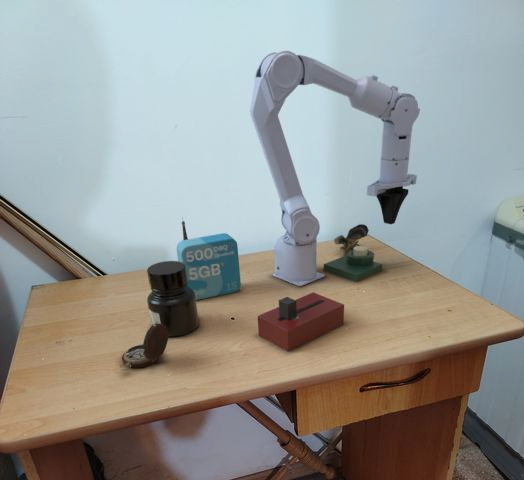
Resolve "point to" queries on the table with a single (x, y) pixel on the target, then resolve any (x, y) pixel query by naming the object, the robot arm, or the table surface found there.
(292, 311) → the slider knob
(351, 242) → the eagle figurine
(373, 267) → the button block
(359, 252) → the button
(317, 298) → the slider base
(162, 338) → the compass
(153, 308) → the ink bottle
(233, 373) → the table surface
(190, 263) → the data package
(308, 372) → the table surface
